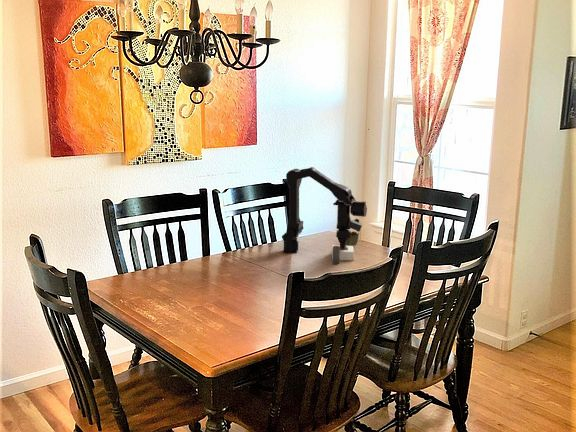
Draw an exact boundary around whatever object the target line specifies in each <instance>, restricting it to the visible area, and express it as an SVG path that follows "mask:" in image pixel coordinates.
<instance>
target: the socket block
mask: <svg viewBox="0 0 576 432" xmlns="http://www.w3.org/2000/svg"><path fill="white" fill-rule="evenodd" d="M333 246H338V245H334V244H333V245H331V260H332V261H333ZM354 247H355V246H354ZM354 247H353V246H347V245H346V250H340V257H339V261H354V258H355V257H354V256H355V251H354V249H355V248H354Z"/></svg>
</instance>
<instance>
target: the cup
mask: <svg viewBox="0 0 576 432" xmlns="http://www.w3.org/2000/svg"><path fill="white" fill-rule="evenodd" d="M349 231H350V230H349ZM359 234H360V233H359V232H358V231H350V238H347V239H346V246H353V247H354V249H355V246H357V244H358V242H359Z"/></svg>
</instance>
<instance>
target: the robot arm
mask: <svg viewBox="0 0 576 432" xmlns="http://www.w3.org/2000/svg"><path fill="white" fill-rule="evenodd" d="M285 177H286V179H285V180H286V183H287V185H288V188H289V219H288V221H287V226H286V232H285V233H284V234H282V236H281V238H282V240H283V251H282V253H294V254H296V253H298V251H299V240H298V237H299V235H300V234H301V233H303V230H304V220H301V219H300V188H301V187H300V186H301V184H302V179H305V178H310V179H312V180H314V181H315V182H316V183H318V184H320V185H321V186H323V187H324V188H325V189H327V190H329V191H330V192H331V194H332V195H333V196H334V198H335V199H336V200H335V202H334V203H332V204H333V206H337V213H336V214H337V215H336V216H337V218H336V219H337V220H336V229H337V230H336V234H335V235H336V238H337V240H338V243H339V246H341V248H342V249H344V246H345V242H346V239H347V238H350V230H351V229H352V230H355V231H356V232H357V233H359V232H360V231H361V229H362V226H363V223H362V222H360V219H359V218H355V219H351V215H352V216H354V217H367V212H368V208H367V202H366V201H357V199H356V198H355V197H354V195H353V194H352V190H351V188H349V187H348V186H345V185H344V184H340V183H337V182H335V181H333V179H331V178H329V177H327V176H326V175H325V174H323V173H322V172H320V171H319V170H317V169H316V168H315V167H314V166H311V167H308V168H303V169H299V168H293V169H291V170H289V171H287V173H286V174H285Z"/></svg>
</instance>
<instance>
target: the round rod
mask: <svg viewBox="0 0 576 432" xmlns="http://www.w3.org/2000/svg"><path fill="white" fill-rule="evenodd" d="M339 257H340V245H337V246H333V260H332V265H334V266H337V265H338V264H339V265H340V260H339ZM339 265H338V266H339Z"/></svg>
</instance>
